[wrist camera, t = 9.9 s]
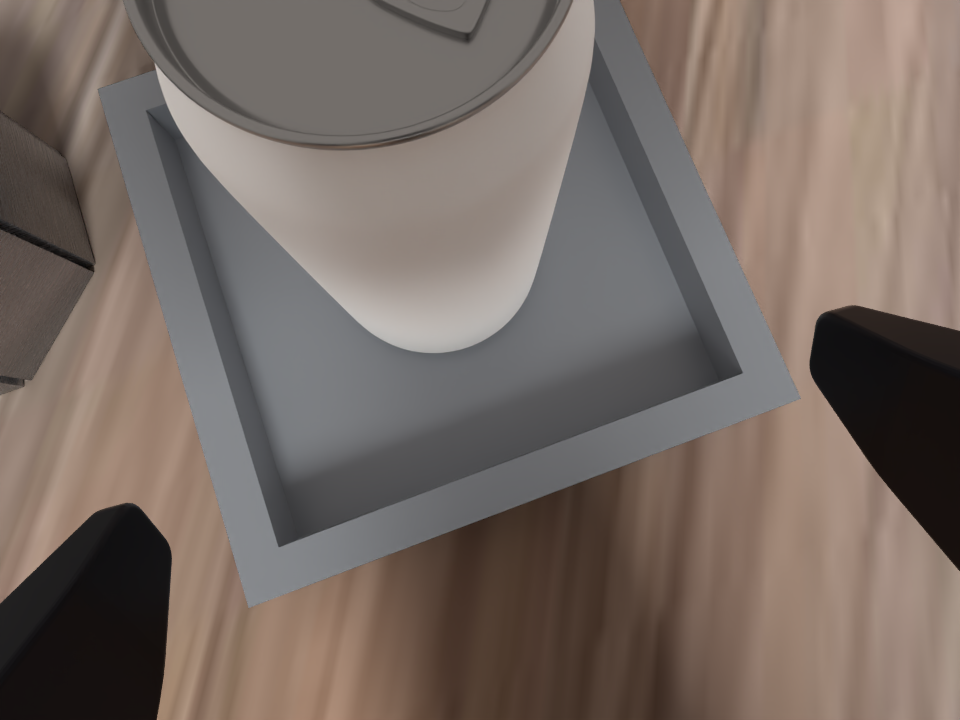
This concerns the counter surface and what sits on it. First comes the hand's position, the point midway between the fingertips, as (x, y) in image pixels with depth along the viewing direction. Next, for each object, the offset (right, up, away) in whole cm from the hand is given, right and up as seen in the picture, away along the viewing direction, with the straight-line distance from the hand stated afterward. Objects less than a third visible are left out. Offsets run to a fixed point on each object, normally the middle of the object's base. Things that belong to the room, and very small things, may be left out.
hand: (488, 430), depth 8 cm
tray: (-1, +4, +12) cm, 13 cm away
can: (-2, +4, +11) cm, 12 cm away
